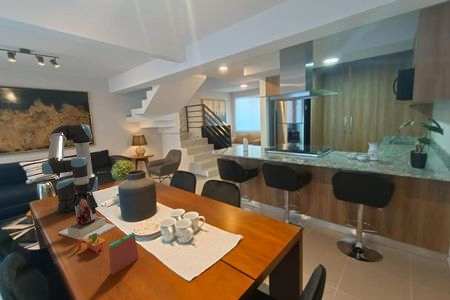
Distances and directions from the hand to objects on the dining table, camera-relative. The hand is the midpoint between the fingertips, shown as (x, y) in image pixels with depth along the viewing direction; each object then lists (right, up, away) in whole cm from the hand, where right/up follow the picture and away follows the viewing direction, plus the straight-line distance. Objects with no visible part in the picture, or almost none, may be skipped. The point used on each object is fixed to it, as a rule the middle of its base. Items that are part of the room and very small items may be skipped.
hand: (86, 217), depth 128 cm
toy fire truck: (0, -3, +1) cm, 3 cm away
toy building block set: (+25, -11, -24) cm, 36 cm away
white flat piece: (0, -8, +1) cm, 8 cm away
